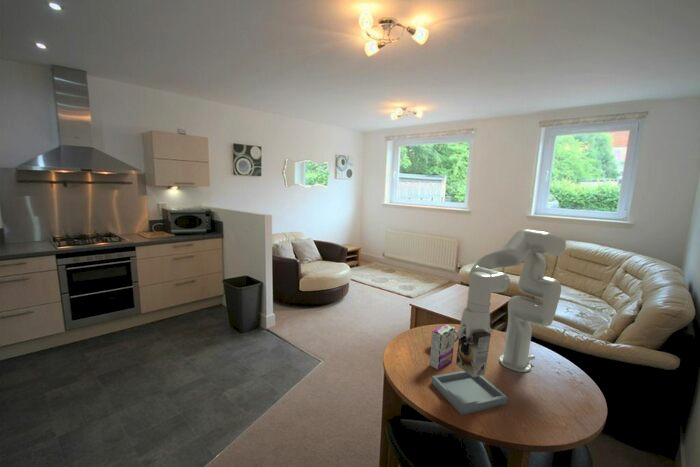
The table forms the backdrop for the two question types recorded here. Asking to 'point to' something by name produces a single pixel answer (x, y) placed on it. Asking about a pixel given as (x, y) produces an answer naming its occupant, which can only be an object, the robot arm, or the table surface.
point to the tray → (468, 392)
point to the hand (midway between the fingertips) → (472, 351)
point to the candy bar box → (442, 346)
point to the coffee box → (474, 354)
